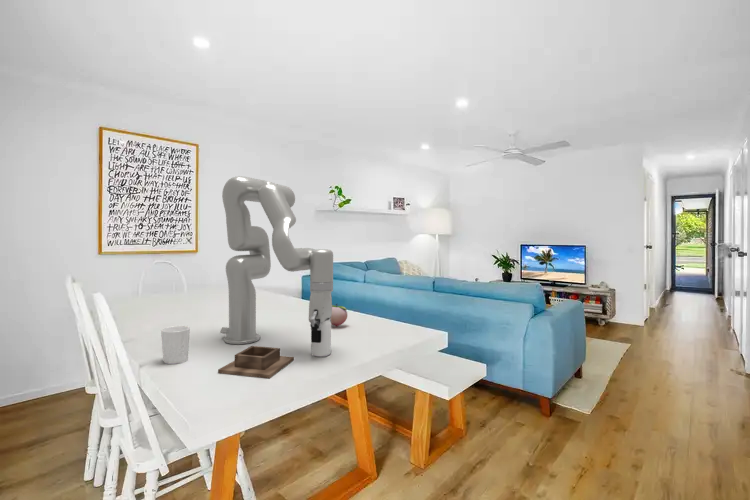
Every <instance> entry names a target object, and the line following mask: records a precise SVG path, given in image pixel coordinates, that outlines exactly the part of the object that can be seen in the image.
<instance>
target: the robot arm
mask: <svg viewBox="0 0 750 500" xmlns="http://www.w3.org/2000/svg"><path fill="white" fill-rule="evenodd" d="M221 194H222V202H223V207H224V214H225V218H226V219H225V221H226V222H225V223H226V233H227V243H228V246H229V248H230V249H231V250H232V251H234V252H249V254H239V255H235V256H232V257H230V258H229V259H228V260H227V262H226V264H225V275H226V279H227V284H228V285H227V286H228V287H227V288H228V327H226V326H223V327H221V328H220V330H219V331H220V332H219V333H220V334H225V336H224V337H223V338H224V342H225V343H226V344H231V345H246V344H247V345H248V344H252V343H256V342H258V341H260V339H261V335H260V334H259V333H257V298H256V297H257V295H256V294H257V292H256V287H255V285H254V284H253V280H258V279H260V280H261V279H264V278H265V277H266V278H267V276H268V275H269V274H270V271H271V267H272V266H271V262H272V261H271V252H270V251H271V250H270V240H269V239H270V238H269V236H268V234H267V231H266V230H265V229H264V228H262V227H260V226H257V225H252V221H251V213H250V210H249V208H248V206H247V205H246V204H245V202H246V201H247V202H255V203H260V205H261V207H262V209H263V212H264V213H265V215H266V217H267V219H268V220H269V223H270V225H271V227H272V234H271V235H272V236H271V246H272V250H273V252H274V254H275V256H276V257H275V258H277V260H278V262H279V263H280V265H281V267H282V268H283V269H284V270H285V271H287V272H290V273H291V272H300V271H309V279H310V280H309V281H310V282H309V292H310V296H309V303H308V304H309V305H308V322H309V323H310V325H309V326H310V332H311V333H310V338H311V339H310V341H311V342H315V343H320V342H321V330H320V328H321V323H323V322H325V320H328V319H329V318H330V322H331V316H332V305H333V301H332V300H333V299H332V298H333V297H332V292H334V252H333V251H332V250H331V249H325V248H322V249H321V248H320V249H319V248H318V249H317V248H316V249H315V248H310V247H304V248H302V247H300V248H297V247H294V245H293V243H292V240H291V238H290V236H289V229H291V228H292V227H293V226H294V225H295V224H296V222H297V218H296V216H295V214H294V212H293V209H292V207H293V206H294V205H295V203H296V195H295V192H294V191H293V189H291V188H290V187H289V186H286V185H282V184H278V183H275V182H271V181H268V180H264V179H258V178H255V177H254V178H253V177H248V176H240V175H238V176H233V177H231V178H230V179H228V180H227V181H226V183H225V184H224V186H223V188H222V193H221ZM318 320H320V321H318ZM317 324H318V325H317ZM311 342H310V343H311Z"/></svg>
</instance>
